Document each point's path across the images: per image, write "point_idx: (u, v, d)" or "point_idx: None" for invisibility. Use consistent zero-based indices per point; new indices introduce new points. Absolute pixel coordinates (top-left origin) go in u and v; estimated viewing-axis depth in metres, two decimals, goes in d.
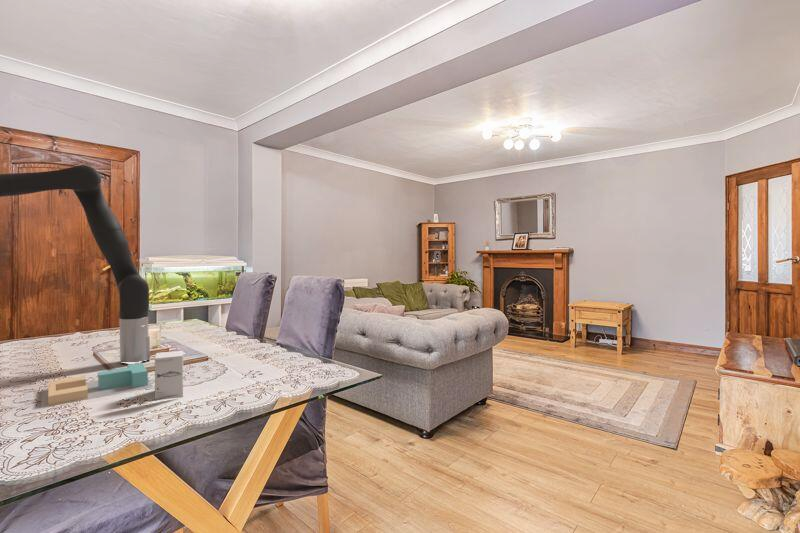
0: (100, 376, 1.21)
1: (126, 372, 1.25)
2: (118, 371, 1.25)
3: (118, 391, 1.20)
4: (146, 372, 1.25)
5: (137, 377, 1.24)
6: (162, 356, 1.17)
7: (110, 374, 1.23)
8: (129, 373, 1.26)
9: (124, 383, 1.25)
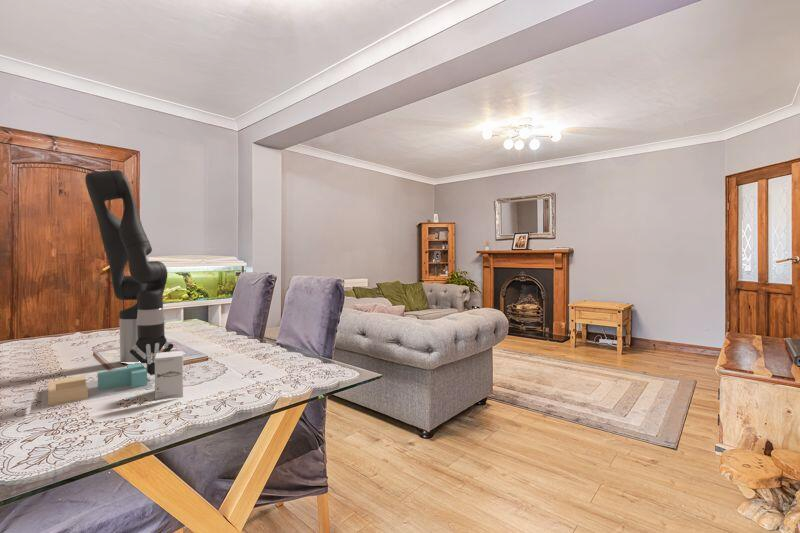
0: (99, 376, 1.21)
1: (125, 372, 1.25)
2: (117, 371, 1.25)
3: (118, 391, 1.20)
4: (145, 372, 1.25)
5: (136, 378, 1.24)
6: (162, 356, 1.17)
7: (109, 374, 1.22)
8: (128, 373, 1.26)
9: (123, 383, 1.25)
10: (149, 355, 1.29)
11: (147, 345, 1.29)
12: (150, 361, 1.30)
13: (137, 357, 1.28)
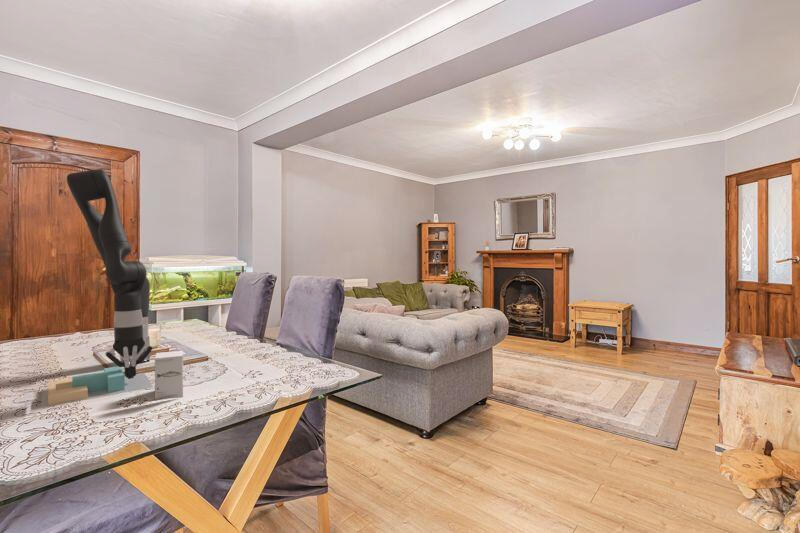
0: (74, 381, 1.17)
1: (102, 376, 1.21)
2: (93, 375, 1.20)
3: (118, 391, 1.20)
4: (123, 376, 1.21)
5: (113, 382, 1.20)
6: (162, 356, 1.17)
7: (85, 378, 1.18)
8: (105, 377, 1.21)
9: (100, 388, 1.21)
10: (126, 358, 1.25)
11: (124, 348, 1.24)
12: (128, 364, 1.26)
13: (114, 360, 1.23)
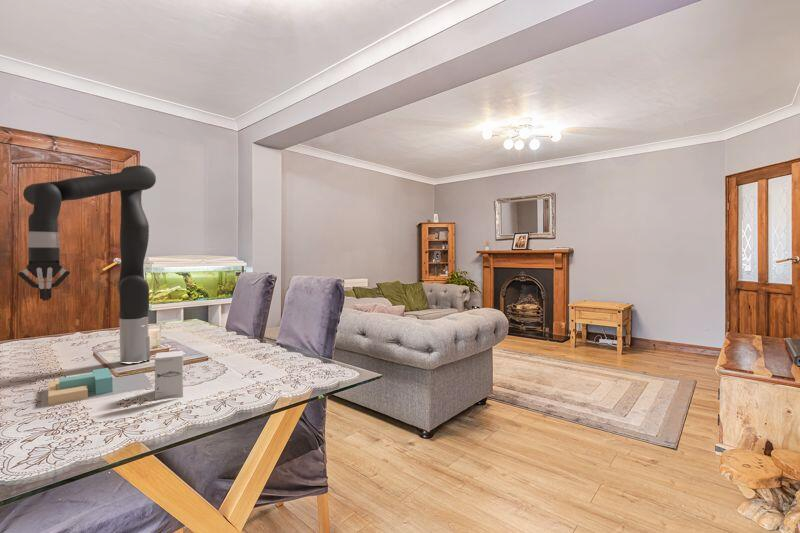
0: (61, 383, 1.15)
1: (89, 378, 1.19)
2: (81, 377, 1.19)
3: (118, 391, 1.20)
4: (111, 378, 1.19)
5: (100, 384, 1.18)
6: (162, 356, 1.17)
7: (72, 381, 1.16)
8: (93, 379, 1.20)
9: None
10: (41, 279, 1.26)
11: (38, 269, 1.25)
12: (42, 286, 1.26)
13: (27, 280, 1.24)
